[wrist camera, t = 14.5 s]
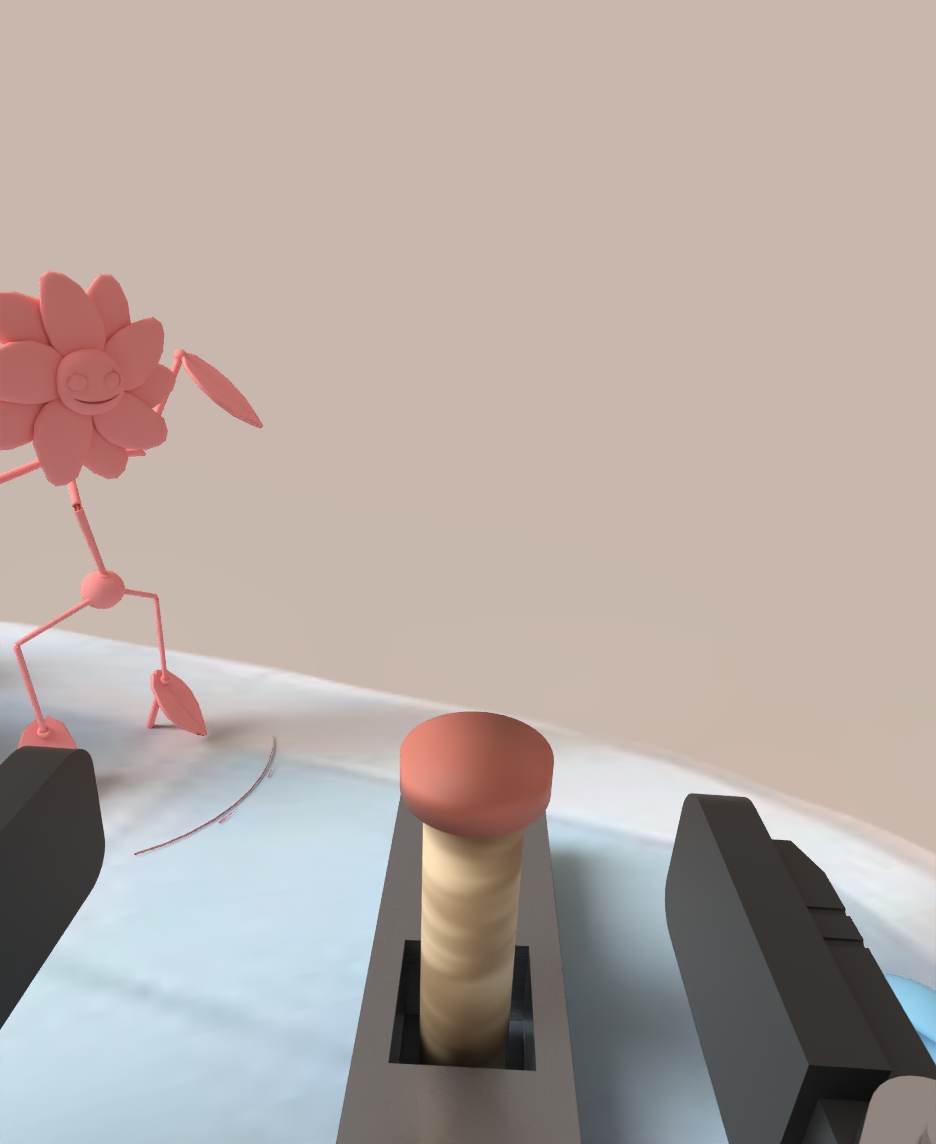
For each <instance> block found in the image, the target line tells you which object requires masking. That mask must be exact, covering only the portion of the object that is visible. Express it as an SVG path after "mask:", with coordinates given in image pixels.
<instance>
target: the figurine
mask: <svg viewBox="0 0 936 1144" xmlns="http://www.w3.org/2000/svg"><path fill="white" fill-rule="evenodd" d="M39 293H40V294H39V296H40V299H37V298H33V297H30V296H27V295H24V294H21V293H18V292H0V342H1V343H2V344H3V345H2V346H0V450H9V449H13V448H16V447H19V446H22V445H24V444H27V443H29V442H31V441H32V440H33V445H34V448H35V451H36V453H37V457H38V460H35V461H33V462H30V463H28V464H25V465H23V466H20V467H17V468H15V469H12V470H10V471H7V472H5V473H2V474H0V484H1V483H3V482H6V481H9V480H11V479H14V478H16V477H19V476H21V475H24V474H26V473H28V472H31V471H33V470H35V469H38V468H40V467H42V469H43V472H44V474H45V476H46V478H47V480H48V481H49V482H51V483H52V484H54V485H55V486H61V485H67V484H68V487H69V492H70V497H71V502H72V506H73V507H74V509H73V511H74V514H75V516H76V519H77V521H78V523H79V525H80V528H81V530H82V533H83V535H84V537H85V540H86V542H87V544H88V547H89V549H90V551H91V554H92V556H93V558H94V561H95V563H96V565H97V567H98V570H97V571H93V572H91V573H90V574H88V575H87V576H86V577H85V578H84V580H83V581H82V583H81V587H80V591H81V595H82V598H83V599H84V601H83V602H82V603H80V604H78V605H77V606H75V607H73V608H72V609H70V610H68V611H67V612H65V613H63V614H62V615H60V616H58V617H57V618H55V619H53V620H52V621H50V622H48V623H47V624H45V625H43V626H42V627H40V628H38V629H37V630H35V631H33V632H32V633H30V634H28V635H27V636H25V637H23V638H22V639H20V640H18V641H17V642H15V644H16V646H14V647H13V648H14V651H15V654H16V657H17V660H18V663H19V666H20V670H21V673H22V676H23V679H24V682H25V685H26V688H27V691H28V694H29V697H30V700H31V703H32V706H33V709H34V712H35V715H36V718H37V720H35V721H34V722H33V723H32V724H30V725H29V726H28V727H26V728H25V729H24V731H23V734H22V737H21V740H20V742H19V745H18V748H17V749H19V748H20V747H23V746H42V747H57V748H71V749H77V748H76V743H75V741H74V740H73V738H72V736H71V735H70V733H69V731H68V730H67V728H66V727H65V725H64V723H62V722H60V721H58V720H55V719H53V718H51V717H49V716H47V717H46V718H45V719H43V716H42V713H41V710H40V707H39V704H38V701H37V698H36V695H35V692H34V688H33V685H32V682H31V679H30V676H29V673H28V670H27V667H26V664H25V660H24V657H23V654H22V651H21V648H20V645H22V644H24V643H25V642H27V641H29V640H30V639H32V638H34V637H35V636H37V635H39V634H40V633H42V632H44V631H45V630H47V629H49V628H50V627H52V626H54V625H55V624H57V623H59V622H60V621H62V620H64V619H65V618H67V617H69V616H71V615H72V614H74V613H76V612H77V611H79V610H80V609H82V608H84V607H86V606H87V605H90V606H91V607H94V608H97V609H107V608H110V607H113V606H114V605H116V604H117V603H118V602H119V601H120V600H121V598H122V597H123V595H124V594H128V595H135V596H141V597H148V598H153V599H154V607H155V615H156V624H157V633H158V641H159V650H160V658H161V666H162V670H156V671H154V673H153V674H152V675H151V689H152V691H153V694H154V696H155V697H154V701H153V704H152V708H151V711H150V715H149V718H148V722H147V727H148V728H152V727H153V726H154V722H155V719H156V716H157V712H158V709H159V707H160V708H161V710H162V711H163V712H164V714H165V715H166V717H167V718H168V719H169V720H171V721H172V722H173V723H174V724H176V725H177V726H178V727H180V728H182V729H184V730H187V731H189V732H192V733H194V734H197V735H202V736H205V735H207V732H206V727H205V723H204V720H203V717H202V714H201V710H200V707H199V704H198V702H197V700H196V699H195V697H194V695H193V693H192V691H191V690H190V688H189V687H188V686H187V685H186V684H185V683H184V682H183V681H182V680H181V679H179V678H178V677H176V676H175V675H173V674H172V673H171V672H169V671H168V670H167V669H166V660H165V651H164V643H163V634H162V625H161V616H160V607H159V599H158V597H157V595H156V594H152V593H146V592H141V591H135V590H129V589H125V586H124V583H123V581H122V579H121V578H120V577H119V576H118V575H117V574H115V573H113V572H111V571H108V570H105V567H104V564H103V562H102V559H101V556H100V554H99V551H98V548H97V545H96V543H95V540H94V537H93V535H92V532H91V529H90V526H89V524H88V521H87V518H86V516H85V513H84V510H83V508H82V507H81V501H80V497H79V493H78V489H77V485H76V482H75V479H76V478H77V477H78V475H79V472H80V470H81V467H82V465H84V466H85V467H87V468H88V469H90V470H91V471H92V472H93V473H95V474H98V475H100V476H102V477H105V478H108V479H112V478H118V477H119V476H120V475H121V474H122V473H123V472H124V471H125V467H126V464H127V461H128V457H131V456H145V452H144V451H143V450H142V449H145V450H147V449H149V448H153V447H156V446H159V445H161V444H162V443H163V442H164V441H165V440H166V436H167V427H166V424H165V421H164V418H162V417H161V414H162V411H163V409H164V406H165V404H166V401H167V399H168V396H169V394H170V392H171V391H172V390H173V387H174V384H175V379H176V376H177V374H178V372H179V369H180V367H181V364H182V363H183V365H184V368H185V370H186V371H187V373H188V374H189V375H190V376H191V377H192V379H193V380H194V381H195V383H196V384H197V385H198V386H199V387H200V389H201V390H202V391H204V393H206V394H207V395H208V396H209V397H210V398H211V399H212V400H213V401H214V402H215V403H216V404H218V405H219V406H220V407H222V408H223V409H224V410H226V411H227V412H229V413H230V414H231V415H233V416H234V417H236V418H238V419H240V420H243V421H244V422H246V423H249V424H250V425H253V426H256V427H258V428H262V427H263V425H262V423H261V422H260V420H259V418H258V416H257V415H256V413H255V412H254V410H253V409H252V407H251V406H250V404H249V403H248V402H247V400H246V398H245V397H244V396H243V395H242V394H241V393H240V392H239V391H238V389H237V388H236V387H234V385H233V384H232V383H231V382H230V381H229V380H228V379H227V378H226V377H225V376H224V375H222V374H221V373H220V372H219V371H218V370H217V369H215V368H214V367H213V366H211V365H210V364H208V363H206V362H205V361H204V360H202V359H201V358H199V357H197V356H196V355H192V354H189V353H186V352H185V351H184V350H182V349H177V350H176V351H175V352H174V358H175V360H174V363H173V365H172V368H171V370H170V369H168V368H167V367H165V366H163V365H161V364H158V362H159V359H160V357H161V354H162V352H163V343H164V342H163V341H164V332H163V328H162V324H161V323H160V322H159V321H158V320H156V319H155V318H148V319H143V320H141V321H138V322H135V323H132V324H131V322H130V315H129V308H128V302H127V300H126V297H125V295H124V293H123V291H122V289H121V287H120V284H119V283H118V282H117V281H116V280H115V278H114V277H112V275H106V274H100V275H99V276H98V277H97V278H96V279H95V280H94V281H93V282H92V283H91V285H90V286H89V288H88V289H87V291H86V292H84V290H83V289H82V288H81V287H80V286H79V285H78V284H77V283H76V282H74V281H72V280H71V279H70V278H68V277H67V276H65V275H63V274H61V273H56V272H52V271H47V272H46V273H45V274H43V275H42V276H41V277H40V278H39ZM155 406H156V408H155V410H153V409H152V408H153V407H155ZM125 448H126V449H125ZM272 738H273V736H272ZM272 750H273V748H272ZM271 754H272V752H271ZM270 757H271V756H270ZM269 761H270V759H269ZM268 764H269V762H268ZM268 764H267V766H268ZM274 764H275V763H274ZM267 766H266V768H267ZM273 766H274V765H273ZM266 768H265V770H266ZM272 768H273V767H272ZM265 770H264V771H265ZM271 770H272V769H271ZM270 772H271V771H270ZM263 773H264V772H263ZM262 775H263V774H262ZM262 775H261V777H262ZM269 775H270V773H269ZM269 775H268V777H269ZM261 777H260V778H261ZM260 778H259V779H258V780H257V782H258V781H259V780H260ZM257 782H256V783H257ZM256 783H255V784H254V785H253V787H254V786H255V785H256ZM253 787H252V788H253ZM252 788H251V789H250V790H249V791H248V792H247V793H246V794H245V795H244V796H243V797H242V798H241V799H243V798H244V797H245V796H246V795H247V794H248V793H249V792H250V791H251V790H252ZM241 799H240V800H241ZM240 800H238V801H237V802H236V803H235V804H234V805H233V806H231V807H230V808H229V809H227V810H226V811H224V812H223V813H222V814H220V815H219V816H217V817H216V818H215V819H213V820H211V821H209V822H208V823H206V824H204V825H202V826H200V827H199V828H197V829H195V830H193V831H191V832H189V833H187V834H185V835H183V836H180V837H178V838H176V839H173V840H171V841H169V842H167V843H164V844H161V845H158V846H155V847H152V848H149V849H146V850H143V851H140V852H137V853H134V855H137V854H140V853H143V852H146V851H149V850H152V849H155V848H158V847H161V846H164V845H166V844H168V843H171V842H173V841H175V840H178V839H180V838H182V837H184V836H187V835H189V834H191V833H193V832H195V831H197V830H198V829H200V828H202V827H204V826H205V825H207V824H209V823H211V822H213V821H214V820H216V819H217V818H219V817H220V816H221V815H223V814H224V813H225V812H227V811H228V810H230V809H231V808H232V807H234V806H235V805H236V804H237V803H238V802H239V801H240ZM237 809H238V808H237ZM233 812H234V811H233ZM233 812H232V813H233ZM230 814H231V813H230ZM230 814H229V815H230ZM229 815H228V816H229ZM228 816H226V817H225V818H227V817H228ZM225 818H224V819H225ZM224 819H222V820H221V821H219V823H220V822H222V821H223V820H224Z"/></svg>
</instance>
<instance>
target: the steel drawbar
mask: <svg viewBox="0 0 936 1144" xmlns="http://www.w3.org/2000/svg"><path fill="white" fill-rule="evenodd" d="M422 856H423V822H422V821H420V820H419V819H418V818H416V817H415V816H414V815H413V814H412V813H411V812H410V811H409V809H408V808H407V807H406V805H405V803H404V802H403V799H402V796H400V802H399V807H398V812H397V818H396V823H395V829H394V834H393V839H392V845H391V850H390V855H389V861H388V866H387V872H386V877H385V882H384V888H383V893H382V898H381V904H380V909H379V915H378V920H377V925H376V931H375V936H374V942H373V947H372V952H371V958H370V963H369V968H368V974H367V979H366V985H365V990H364V995H363V1001H362V1006H361V1011H360V1017H359V1022H358V1028H357V1033H356V1038H355V1044H354V1049H353V1055H352V1060H351V1065H350V1071H349V1076H348V1081H347V1087H346V1092H345V1098H344V1103H343V1108H342V1114H341V1119H340V1124H339V1130H338V1135H337V1141H336V1144H581V1137H580V1128H579V1119H578V1109H577V1100H576V1091H575V1081H574V1072H573V1063H572V1053H571V1044H570V1035H569V1025H568V1016H567V1007H566V997H565V988H564V979H563V969H562V960H561V951H560V942H559V932H558V923H557V914H556V904H555V895H554V886H553V876H552V867H551V858H550V848H549V839H548V830H547V820H546V811H544V813H543V814H542V815H541V816H540V817H539V818H538V819H537V820H536V821H535V822H533V823H532V824H530V825H529V826H527V827H525V828H524V839H523V852H522V865H521V878H520V890H519V903H518V916H517V929H516V942H515V955H514V968H513V981H512V994H511V1007H510V1019H509V1020H523V1038H524V1061H525V1071H524V1070H506V1069H487V1068H469V1067H451V1066H433V1065H414V1064H399V1056H400V1048H401V1040H402V1032H403V1024H404V1016H405V1014H414V1015H420V978H421V917H422Z"/></svg>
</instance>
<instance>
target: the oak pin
mask: <svg viewBox="0 0 936 1144" xmlns="http://www.w3.org/2000/svg"><path fill="white" fill-rule="evenodd" d="M553 765H554V756H553V752H552V749H551V747H550V745H549V743H548V742H547V740H546V739H545V738H544V737H543V736H542V735H541V734H540V733H539V732H538V731H536V730H535V729H534V728H532V727H530V726H529V725H527V724H525V723H523V722H521V721H519V720H516V719H514V718H510V717H507V716H504V715H499V714H494V713H488V712H458V713H451V714H446V715H442V716H438V717H435V718H432V719H430V720H427V721H426V722H424V723H422V724H420V725H419V726H417V727H416V728H414V729H413V730H412V731H411V732H410V733H409V734H408V735H407V736H406V738H405V739H404V741H403V743H402V746H401V751H400V791H401V796H402V799H403V802H404V803H405V805H406V807H407V808H408V809H409V811H410V812H411V813H412V814H413V815H414V816H415V817H416V818H418V819H419V820H420V821H422V822H423V856H422V917H421V978H420V1039H419V1065H433V1066H451V1067H469V1068H487V1069H506V1058H507V1045H508V1032H509V1019H510V1007H511V994H512V981H513V968H514V955H515V942H516V929H517V916H518V903H519V890H520V878H521V865H522V852H523V839H524V828H525V827H527V826H529V825H530V824H532V823H533V822H535V821H536V820H537V819H538V818H539V817H540V816H541V815H542V814H543V813H544V811H545V810H546V808H547V806H548V804H549V802H550V796H551V787H552V776H553Z"/></svg>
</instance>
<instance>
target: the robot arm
mask: <svg viewBox="0 0 936 1144" xmlns="http://www.w3.org/2000/svg"><path fill="white" fill-rule="evenodd" d="M104 852H105V837H104V830H103V824H102V818H101V811H100V805H99V798H98V792H97V786H96V779H95V773H94V766H93V762H92V758H91V756H90V755H89V753H88V752H87V751H86V750H83V749H71V748H57V747H42V746H23V747H20V748H19V749H17V750H16V751H15V752H13V753H12V754H11V755H10V756H9V757H8V758H7V759H6V760H5V761H4V762H3V763H2V764H1V765H0V1029H1V1028H2V1026H3V1025H4V1023H5V1022H6V1020H7V1019H8V1017H9V1016H10V1014H11V1012H12V1011H13V1009H14V1008H15V1006H16V1005H17V1003H18V1002H19V1000H20V999H21V997H22V996H23V994H24V993H25V991H26V990H27V988H28V987H29V985H30V984H31V982H32V980H33V979H34V977H35V976H36V974H37V973H38V971H39V970H40V968H41V967H42V965H43V964H44V962H45V961H46V959H47V958H48V956H49V955H50V953H51V952H52V950H53V949H54V947H55V945H56V944H57V942H58V941H59V939H60V938H61V936H62V935H63V933H64V932H65V930H66V929H67V927H68V926H69V924H70V923H71V921H72V920H73V918H74V917H75V915H76V913H77V912H78V910H79V909H80V907H81V906H82V904H83V903H84V901H85V900H86V898H87V897H88V895H89V894H90V892H91V890H92V889H93V887H94V885H95V883H96V881H97V879H98V876H99V873H100V870H101V867H102V863H103V858H104ZM665 910H666V919H667V925H668V930H669V934H670V938H671V941H672V945H673V948H674V952H675V955H676V959H677V962H678V966H679V969H680V973H681V976H682V980H683V983H684V987H685V990H686V994H687V997H688V1001H689V1005H690V1008H691V1012H692V1015H693V1019H694V1022H695V1026H696V1029H697V1033H698V1036H699V1040H700V1043H701V1047H702V1050H703V1054H704V1057H705V1061H706V1064H707V1068H708V1071H709V1075H710V1078H711V1082H712V1085H713V1089H714V1092H715V1096H716V1100H717V1103H718V1107H719V1110H720V1114H721V1117H722V1121H723V1124H724V1128H725V1131H726V1135H727V1138H728V1142H729V1144H936V1064H935V1062H934V1061H933V1059H932V1057H931V1055H930V1054H929V1052H928V1050H927V1048H926V1047H925V1045H924V1043H923V1042H922V1040H921V1038H920V1036H919V1035H918V1033H917V1031H916V1029H915V1028H914V1026H913V1024H912V1023H911V1021H910V1019H909V1017H908V1016H907V1014H906V1012H905V1011H904V1009H903V1007H902V1005H901V1004H900V1002H899V1000H898V998H897V997H896V995H895V993H894V992H893V990H892V988H891V986H890V985H889V983H888V981H887V979H886V978H885V976H884V974H883V973H882V971H881V969H880V967H879V966H878V964H877V962H876V961H875V959H874V957H873V955H872V954H871V952H870V950H869V948H865V947H864V944H863V938H862V936H861V935H860V933H859V931H858V929H857V928H856V926H855V924H854V923H853V921H852V919H851V917H850V916H846V913H845V907H844V905H843V904H842V902H841V900H840V898H839V897H838V895H837V893H836V892H835V890H834V888H833V886H832V885H831V883H830V881H829V879H828V878H827V876H826V874H825V873H824V872H823V871H822V870H821V869H820V868H819V867H818V866H817V865H816V864H815V863H814V862H813V861H812V860H811V859H810V858H809V857H807V856H806V855H805V854H804V853H803V852H802V851H801V850H800V849H799V848H798V847H797V846H796V845H795V844H794V843H793V842H791V841H788V840H773V839H771V837H770V835H769V833H768V831H767V829H766V827H765V826H764V824H763V822H762V820H761V818H760V816H759V814H758V812H757V810H756V808H755V806H754V805H753V803H752V802H751V801H750V799H748V798H746V797H736V796H722V795H707V794H693V793H691V794H689V795H688V796H687V797H686V799H685V801H684V804H683V807H682V812H681V816H680V821H679V825H678V830H677V834H676V839H675V844H674V848H673V853H672V857H671V862H670V866H669V871H668V875H667V880H666V888H665Z"/></svg>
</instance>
